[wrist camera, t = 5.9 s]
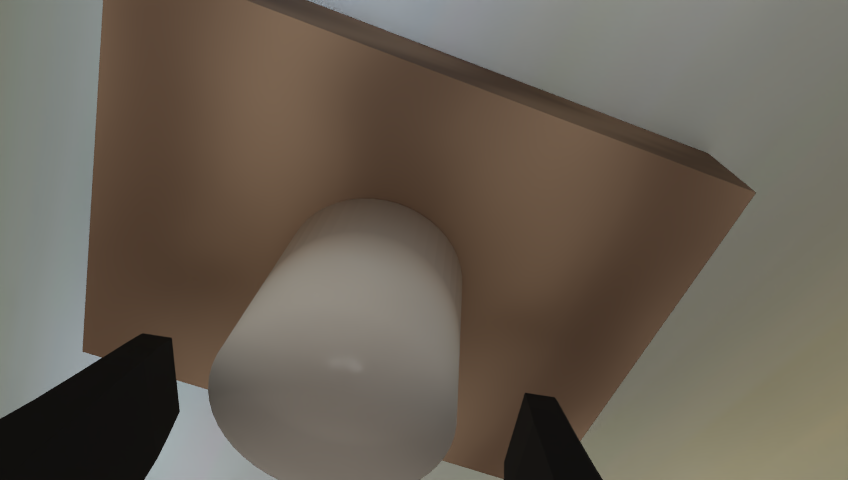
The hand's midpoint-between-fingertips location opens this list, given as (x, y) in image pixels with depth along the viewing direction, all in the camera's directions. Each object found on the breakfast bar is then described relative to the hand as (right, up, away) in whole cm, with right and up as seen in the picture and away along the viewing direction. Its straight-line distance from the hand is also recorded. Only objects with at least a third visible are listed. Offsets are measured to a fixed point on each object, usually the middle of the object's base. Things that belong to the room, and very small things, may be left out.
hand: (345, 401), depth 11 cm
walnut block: (0, +4, +7) cm, 8 cm away
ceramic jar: (0, +2, +4) cm, 5 cm away
